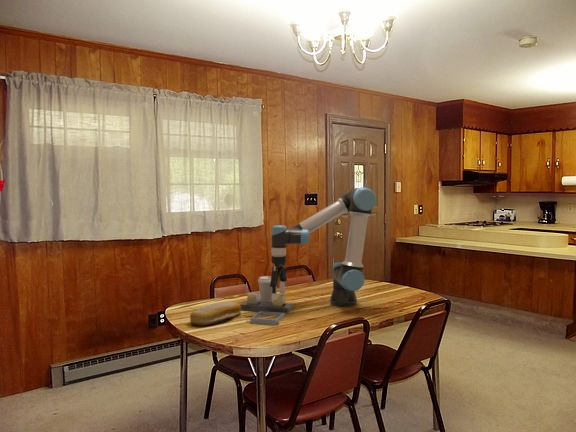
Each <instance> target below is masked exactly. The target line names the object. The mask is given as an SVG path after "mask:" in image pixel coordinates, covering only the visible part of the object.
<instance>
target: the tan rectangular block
mask: <svg viewBox="0 0 576 432" xmlns="http://www.w3.org/2000/svg"><path fill="white" fill-rule="evenodd" d="M285 303H286V294H280V293H279V294H278V293H277V300H273V306H277V307H284V306H285Z"/></svg>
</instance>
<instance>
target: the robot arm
mask: <svg viewBox="0 0 576 432" xmlns="http://www.w3.org/2000/svg"><path fill="white" fill-rule="evenodd" d="M376 203H377V195H376V194H375V192H374V191H373V190H372V189H371V188H367V187H354V188H352V189H350V190H349V191H347V192H346V193H344V194H342V195H341V196H340V197H338V198H337V201H335V202H333V203H332V204H330V205H328V206H326V207H324V208H323V209H321V210H320V211H318V212H317V213H315V214H313V215H312V216H310V217H308V218H306V219H304V220H302V221H301V222H299V223H298V224H296V225H294V226H291V227H289V228H288V229H287V226H286V225H279V224H278V225H273V226H272V227H271V249H270V251H271V264H274V266H272V268H271V270H272V271H271V283H270V287H272V300H277V294H278V286H277V285H278V280H280V281H279V294H283V295H286V282H287V281H288V280H287V273H286V268H285V267H286V263H287V245H306V244H307V245H308V244H309V243H310V239H311V238H310V234H311V233H313V232H315V231H316V230H317V229H319V228H321V227H322V226H325V225H326V224H327V223H330V222H331V221H333V220H334V219H336V218H337V217H340V216H341V215H343V214H349V213H350V222H349V223H350V225H349V230H348V238H347V244H346V250H345V251H346V252H345V258H344V260H343V261H342V262H334V263H333V264H332V292H331V295H330V297H329V304H330V305H332V306H337V307H354V306H356V305H357V304H358V298H357V295H356V291H359V290H360V289H362V287H364V284H365V275H364V264H363V263H362V262H363V261H362V259H363V254H364V246H365V239H366V232H367V226H368V219H369V217H370V216H372V212H373V209H374V207H375V206H376Z"/></svg>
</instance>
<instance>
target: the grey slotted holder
mask: <svg viewBox="0 0 576 432" xmlns="http://www.w3.org/2000/svg"><path fill="white" fill-rule="evenodd" d="M240 306H241V311H243V312H254V313H255V312H257V313H258V312H259V311H263V312H277V313H285V315H288V314H290V313H291V312H292V311H293V303H288V302H287V303H286V302H285V306H284V307H277V306H273V302H260V304H258V305H248V304H247V300H244V301H243V302H241V303H240Z"/></svg>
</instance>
